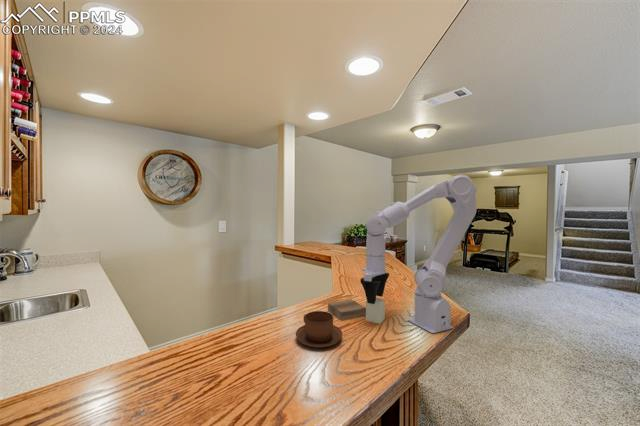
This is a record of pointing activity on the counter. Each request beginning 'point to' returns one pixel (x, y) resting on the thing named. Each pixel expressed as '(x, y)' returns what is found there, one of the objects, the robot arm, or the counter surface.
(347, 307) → the walnut slab
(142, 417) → the counter surface
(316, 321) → the cup and saucer
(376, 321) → the sage block
